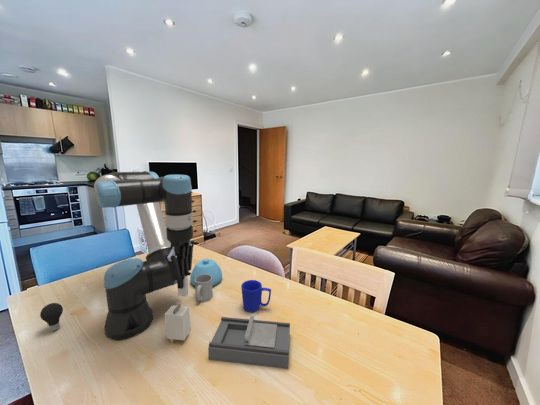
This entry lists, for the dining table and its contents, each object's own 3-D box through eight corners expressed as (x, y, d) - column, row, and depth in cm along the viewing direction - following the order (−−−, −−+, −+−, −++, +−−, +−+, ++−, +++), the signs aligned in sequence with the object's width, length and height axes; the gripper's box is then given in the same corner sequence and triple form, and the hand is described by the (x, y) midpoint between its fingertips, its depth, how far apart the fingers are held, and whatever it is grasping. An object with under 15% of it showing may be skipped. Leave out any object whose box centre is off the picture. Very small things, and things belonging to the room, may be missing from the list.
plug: (167, 342, 74) (164, 311, 72) (174, 332, 78) (171, 302, 76) (184, 344, 73) (182, 313, 71) (190, 334, 78) (188, 304, 76)
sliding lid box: (208, 359, 68) (208, 345, 67) (222, 328, 81) (222, 315, 80) (288, 368, 65) (288, 354, 64) (289, 334, 78) (289, 322, 77)
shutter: (244, 346, 68) (244, 336, 67) (250, 324, 77) (250, 315, 76) (274, 350, 67) (274, 339, 66) (277, 326, 76) (277, 317, 75)
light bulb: (41, 338, 75) (35, 311, 73) (47, 327, 80) (42, 302, 78) (62, 332, 78) (58, 306, 76) (68, 322, 83) (63, 297, 81)
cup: (215, 293, 102) (214, 274, 100) (205, 307, 92) (205, 287, 90) (200, 291, 103) (199, 273, 101) (189, 305, 93) (188, 285, 91)
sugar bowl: (228, 279, 114) (227, 257, 112) (205, 293, 101) (204, 269, 99) (207, 271, 122) (207, 250, 120) (184, 283, 109) (182, 261, 107)
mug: (268, 316, 87) (268, 293, 85) (238, 312, 89) (238, 289, 87) (272, 303, 95) (272, 282, 93) (245, 300, 97) (244, 278, 95)
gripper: (179, 234, 61) (183, 309, 67) (201, 220, 74) (203, 284, 79) (154, 232, 63) (160, 306, 68) (180, 219, 75) (183, 282, 80)
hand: (183, 294), depth 74 cm, fingers closed
